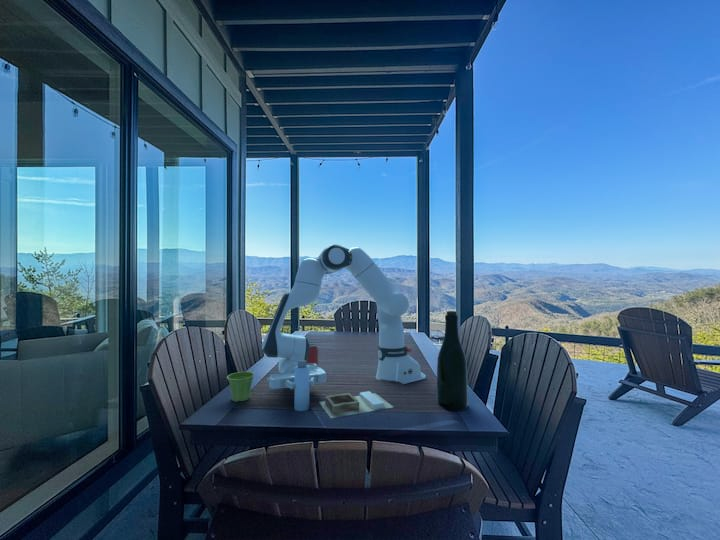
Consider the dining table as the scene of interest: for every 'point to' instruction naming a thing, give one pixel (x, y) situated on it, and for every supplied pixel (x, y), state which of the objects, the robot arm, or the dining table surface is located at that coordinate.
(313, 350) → the beer can
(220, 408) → the dining table surface
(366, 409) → the jig
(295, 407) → the tapered blue cylinder
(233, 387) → the plant pot
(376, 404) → the white rectangular bar
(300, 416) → the dining table surface
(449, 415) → the dining table surface
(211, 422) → the dining table surface
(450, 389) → the green wine bottle
